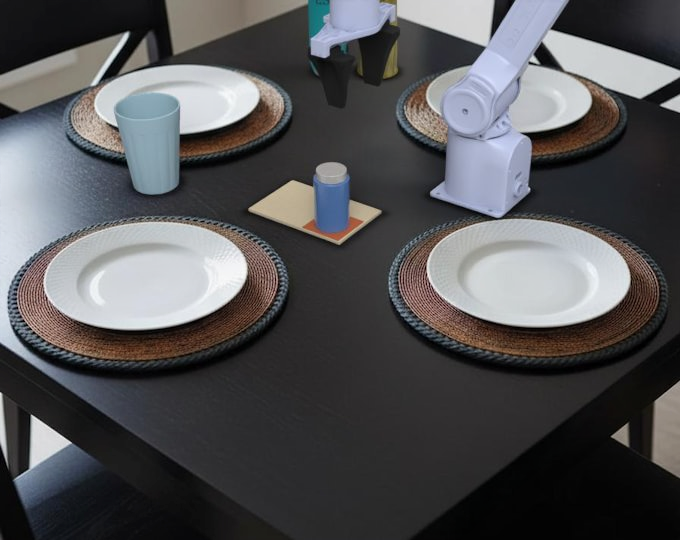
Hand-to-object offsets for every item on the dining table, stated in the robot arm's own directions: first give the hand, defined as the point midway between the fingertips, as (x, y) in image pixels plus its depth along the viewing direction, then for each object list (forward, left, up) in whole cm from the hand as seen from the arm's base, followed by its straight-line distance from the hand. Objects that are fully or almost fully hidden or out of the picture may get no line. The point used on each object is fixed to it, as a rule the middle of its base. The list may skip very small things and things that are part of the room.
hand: (354, 94), depth 126 cm
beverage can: (+20, -22, -10) cm, 31 cm away
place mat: (-3, +13, -9) cm, 16 cm away
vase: (+14, -26, -10) cm, 31 cm away
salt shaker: (-7, +14, -9) cm, 18 cm away
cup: (+17, +18, -10) cm, 27 cm away
